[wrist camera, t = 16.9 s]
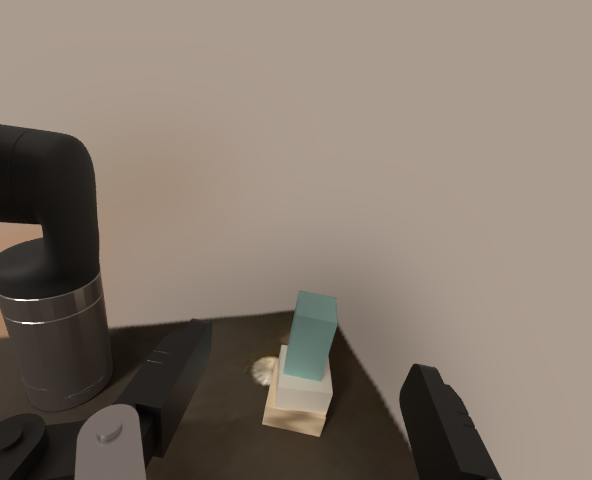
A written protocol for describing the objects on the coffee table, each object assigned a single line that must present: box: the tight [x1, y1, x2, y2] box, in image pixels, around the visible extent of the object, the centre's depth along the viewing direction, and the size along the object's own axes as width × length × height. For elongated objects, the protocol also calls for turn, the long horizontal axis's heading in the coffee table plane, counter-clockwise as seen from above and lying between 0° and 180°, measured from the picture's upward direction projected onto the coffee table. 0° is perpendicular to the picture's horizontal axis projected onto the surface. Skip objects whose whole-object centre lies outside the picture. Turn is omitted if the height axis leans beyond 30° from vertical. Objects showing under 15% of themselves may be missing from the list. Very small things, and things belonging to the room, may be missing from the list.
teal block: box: [283, 291, 338, 382], centre depth 37 cm, size 5×5×10 cm
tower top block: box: [274, 345, 333, 414], centre depth 39 cm, size 7×7×4 cm
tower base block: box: [262, 359, 326, 437], centre depth 41 cm, size 8×8×4 cm
